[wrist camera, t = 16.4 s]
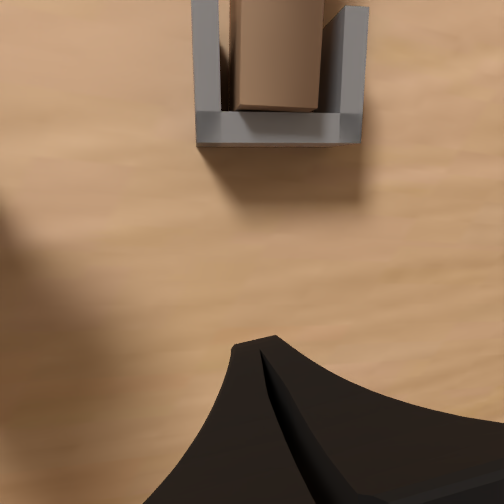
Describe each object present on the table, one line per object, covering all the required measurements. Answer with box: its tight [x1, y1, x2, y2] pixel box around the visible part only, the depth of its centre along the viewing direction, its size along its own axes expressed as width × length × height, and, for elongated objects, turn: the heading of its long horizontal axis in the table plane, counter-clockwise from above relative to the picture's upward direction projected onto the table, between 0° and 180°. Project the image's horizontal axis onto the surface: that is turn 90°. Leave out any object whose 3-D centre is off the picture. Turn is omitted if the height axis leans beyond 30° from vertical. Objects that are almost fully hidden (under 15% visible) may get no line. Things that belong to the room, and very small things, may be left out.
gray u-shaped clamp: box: [191, 0, 369, 147], centre depth 16 cm, size 7×5×4 cm
